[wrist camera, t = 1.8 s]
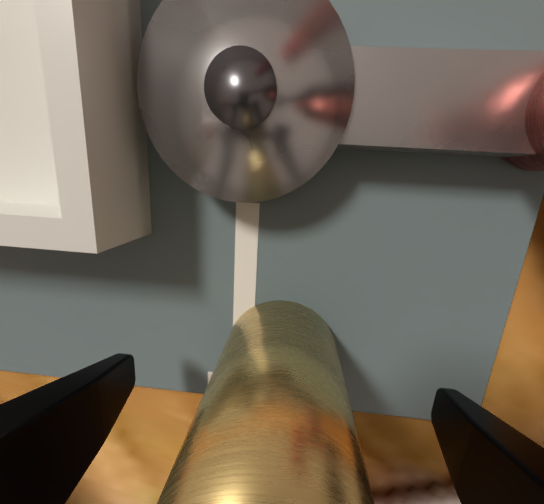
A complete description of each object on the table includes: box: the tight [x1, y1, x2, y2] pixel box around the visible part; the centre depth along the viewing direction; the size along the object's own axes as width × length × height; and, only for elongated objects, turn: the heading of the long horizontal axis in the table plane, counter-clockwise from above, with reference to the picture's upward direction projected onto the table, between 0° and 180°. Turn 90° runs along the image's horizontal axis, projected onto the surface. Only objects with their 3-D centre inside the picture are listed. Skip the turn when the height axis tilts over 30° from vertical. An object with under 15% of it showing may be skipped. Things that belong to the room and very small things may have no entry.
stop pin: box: [157, 300, 374, 504], centre depth 6 cm, size 4×4×7 cm
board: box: [0, 0, 544, 420], centre depth 9 cm, size 20×14×1 cm
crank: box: [137, 0, 544, 203], centre depth 5 cm, size 12×5×5 cm, turn 87°
